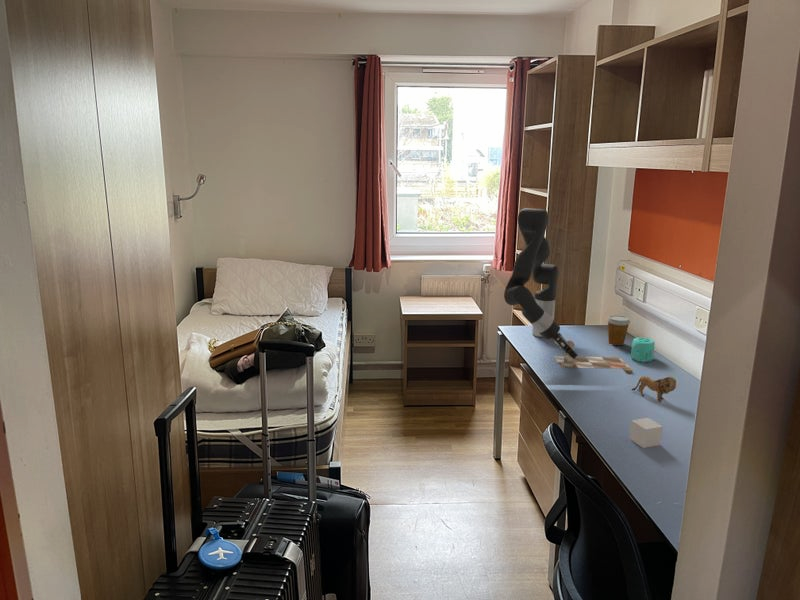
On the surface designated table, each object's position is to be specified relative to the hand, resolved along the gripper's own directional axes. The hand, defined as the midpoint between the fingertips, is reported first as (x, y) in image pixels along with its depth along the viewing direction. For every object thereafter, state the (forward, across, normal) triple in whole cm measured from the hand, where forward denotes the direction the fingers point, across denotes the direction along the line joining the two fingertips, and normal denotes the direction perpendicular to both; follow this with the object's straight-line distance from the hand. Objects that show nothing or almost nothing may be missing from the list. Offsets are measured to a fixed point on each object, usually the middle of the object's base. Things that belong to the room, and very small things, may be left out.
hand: (573, 355), depth 229 cm
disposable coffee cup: (+24, +31, -16) cm, 42 cm away
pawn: (+1, 0, +4) cm, 5 cm away
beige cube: (+7, -60, +1) cm, 60 cm away
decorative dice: (+27, +12, -18) cm, 35 cm away
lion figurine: (+19, -27, -10) cm, 35 cm away
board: (+9, +3, -2) cm, 10 cm away
